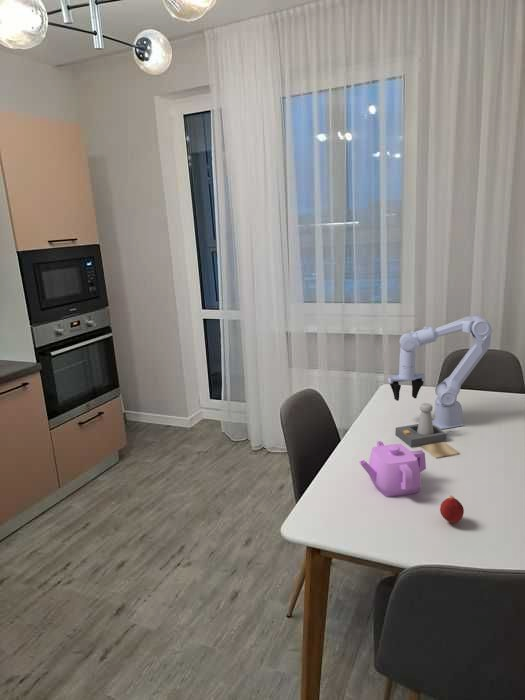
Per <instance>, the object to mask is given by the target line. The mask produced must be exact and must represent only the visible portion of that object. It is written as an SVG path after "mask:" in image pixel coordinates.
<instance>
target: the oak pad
mask: <svg viewBox="0 0 525 700" xmlns="http://www.w3.org/2000/svg"><path fill="white" fill-rule="evenodd" d="M421 448H422V449H423V450H424V451H426V452H427V453H428V454H429V455H431V456H433V458H435V459H442V458H447V457H454V456H458V455H461V452H460V451H458V450H456V449H455V448H453V447H452V446H450V445H449V444H448V443H446V442H440V443H434V444H429V445H423V446H421Z"/></svg>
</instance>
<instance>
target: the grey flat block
mask: <svg viewBox="0 0 525 700" xmlns="http://www.w3.org/2000/svg"><path fill="white" fill-rule="evenodd" d="M418 425H419V423H416V424H411V425H405V426H398V427H395V436H396V437H397V438H398V439H400V440H401V441H402V442H403V443H405V444H406V445H407V446H408V447H410V448H417V447H422V446H424V445H430V444H435V443H441V442H445V441H446V442H447V433H446V432H445V431H443V429H440V428H438V427H437V426H435V425H434V424H433V430H434V433H433V434H430V435H424V436H421V435H420V434H418V433H417V429H418ZM446 442H445V443H446Z"/></svg>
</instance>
